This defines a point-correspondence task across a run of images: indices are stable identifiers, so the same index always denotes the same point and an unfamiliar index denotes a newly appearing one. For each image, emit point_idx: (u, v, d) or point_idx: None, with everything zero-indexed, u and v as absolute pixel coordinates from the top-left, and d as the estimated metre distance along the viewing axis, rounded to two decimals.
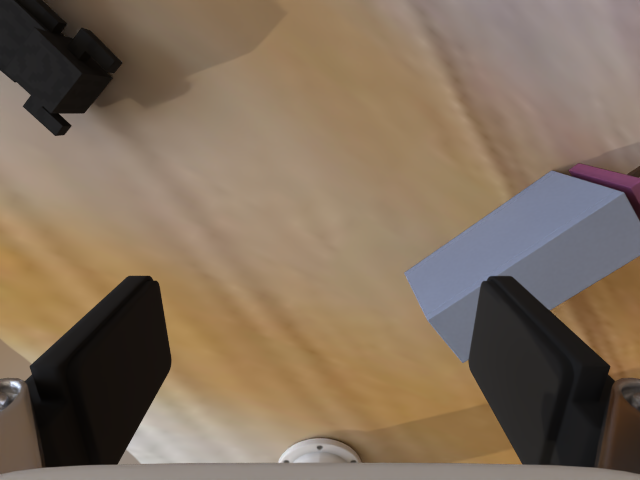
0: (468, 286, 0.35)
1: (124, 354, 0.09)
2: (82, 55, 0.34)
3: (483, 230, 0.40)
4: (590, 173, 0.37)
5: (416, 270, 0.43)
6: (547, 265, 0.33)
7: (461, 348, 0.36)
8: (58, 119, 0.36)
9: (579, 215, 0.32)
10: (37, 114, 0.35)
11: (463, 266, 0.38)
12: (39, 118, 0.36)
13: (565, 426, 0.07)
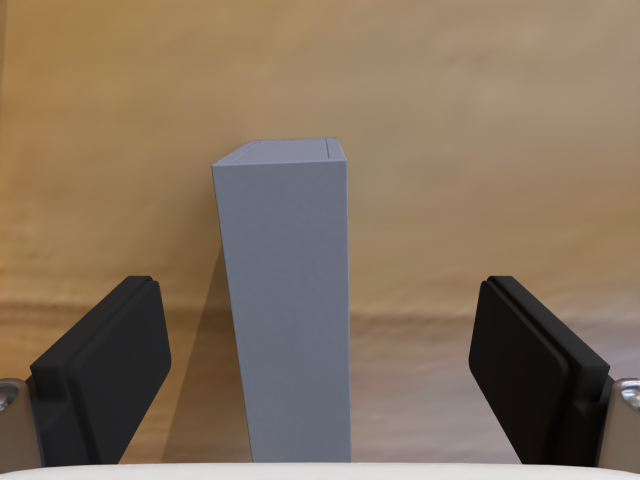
0: None
1: (124, 354, 0.09)
2: None
3: None
4: None
5: None
6: (314, 364, 0.21)
7: (246, 181, 0.18)
8: None
9: None
10: None
11: None
12: None
13: (564, 426, 0.07)
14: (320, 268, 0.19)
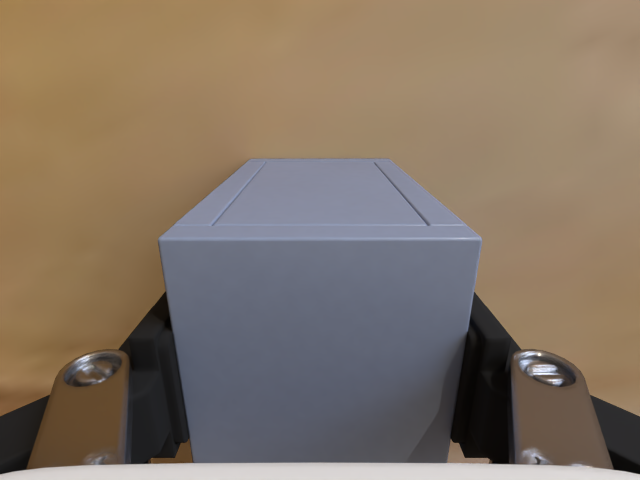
0: None
1: None
2: None
3: None
4: None
5: None
6: None
7: (241, 276, 0.07)
8: None
9: None
10: None
11: None
12: None
13: (476, 394, 0.08)
14: (389, 449, 0.09)
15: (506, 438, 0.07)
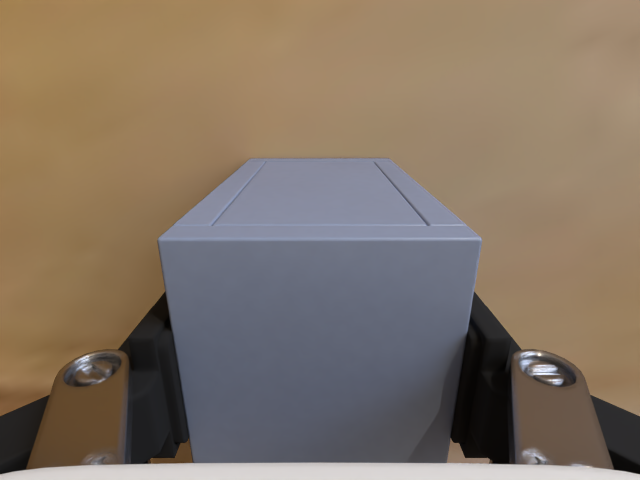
0: None
1: None
2: None
3: None
4: None
5: None
6: None
7: (241, 277, 0.07)
8: None
9: None
10: None
11: None
12: None
13: (476, 395, 0.08)
14: (389, 449, 0.09)
15: (506, 438, 0.07)
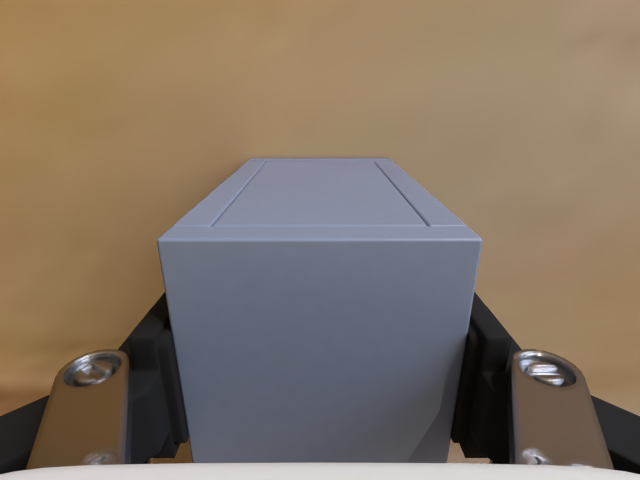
0: None
1: None
2: None
3: None
4: None
5: None
6: None
7: (241, 277, 0.07)
8: None
9: None
10: None
11: None
12: None
13: (476, 394, 0.08)
14: (389, 450, 0.09)
15: (506, 438, 0.07)
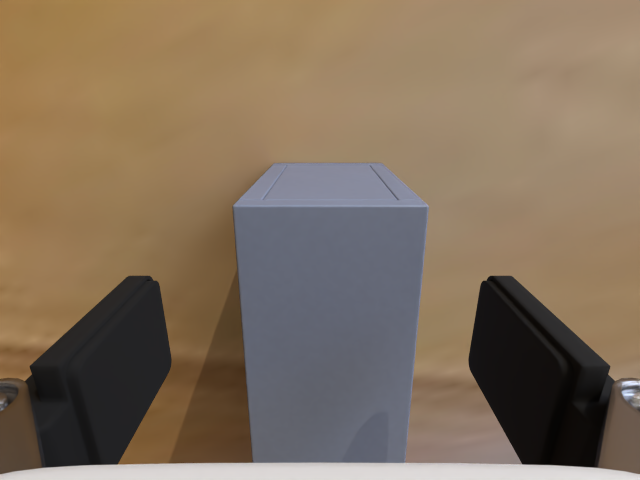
0: None
1: (124, 354, 0.09)
2: None
3: None
4: None
5: None
6: None
7: (282, 229, 0.12)
8: None
9: None
10: None
11: None
12: None
13: (564, 426, 0.07)
14: (375, 351, 0.14)
15: None
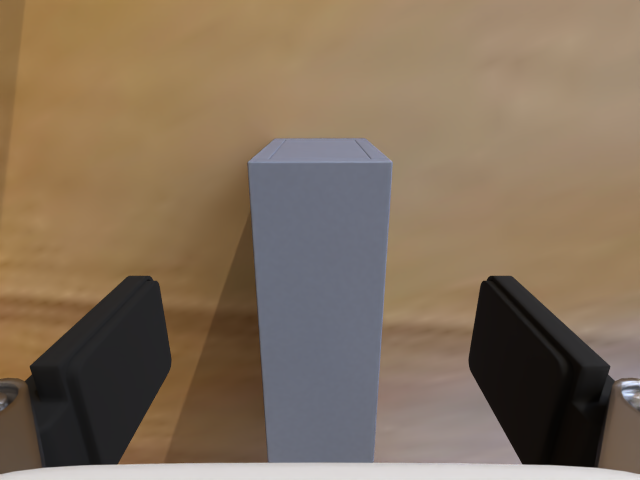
0: None
1: (124, 354, 0.09)
2: None
3: None
4: None
5: None
6: (341, 375, 0.20)
7: (284, 180, 0.16)
8: None
9: None
10: None
11: None
12: None
13: (565, 426, 0.07)
14: (355, 276, 0.18)
15: None
